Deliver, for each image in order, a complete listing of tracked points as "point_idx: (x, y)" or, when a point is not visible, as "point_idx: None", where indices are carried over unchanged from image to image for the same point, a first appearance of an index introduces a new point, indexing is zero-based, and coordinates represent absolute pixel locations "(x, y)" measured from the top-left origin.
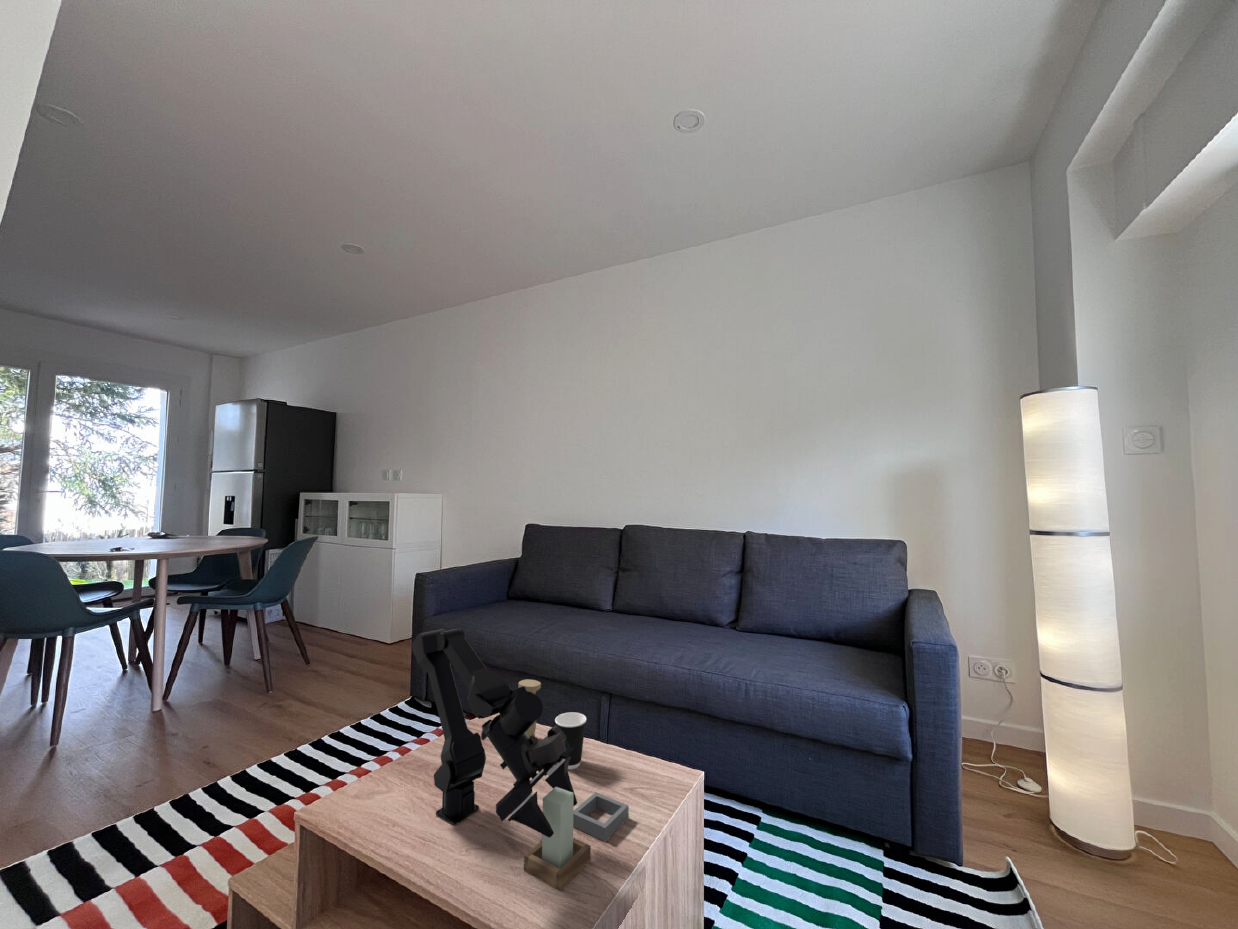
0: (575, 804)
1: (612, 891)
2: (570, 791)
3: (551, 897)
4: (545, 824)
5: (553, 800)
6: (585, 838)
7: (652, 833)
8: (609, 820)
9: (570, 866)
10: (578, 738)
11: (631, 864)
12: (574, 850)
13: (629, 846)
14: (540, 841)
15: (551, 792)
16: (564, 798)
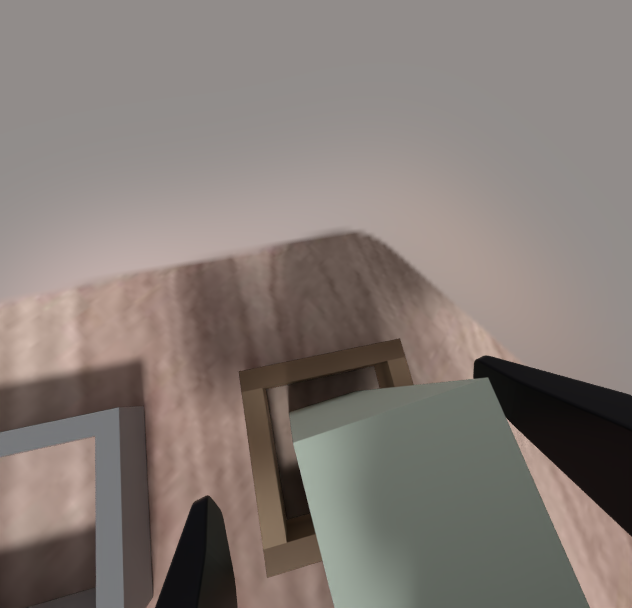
0: (211, 501)
1: (285, 252)
2: (201, 598)
3: (414, 348)
4: (565, 378)
5: (518, 485)
6: (174, 478)
7: (3, 317)
8: (62, 434)
9: (352, 348)
10: None
11: (175, 276)
12: (270, 427)
13: (111, 330)
14: None
15: None
16: (416, 430)
